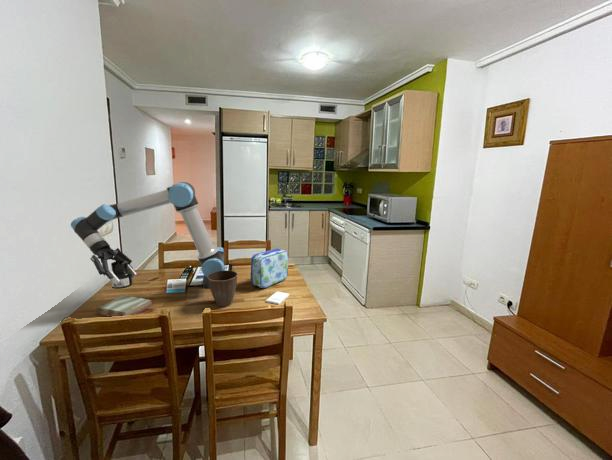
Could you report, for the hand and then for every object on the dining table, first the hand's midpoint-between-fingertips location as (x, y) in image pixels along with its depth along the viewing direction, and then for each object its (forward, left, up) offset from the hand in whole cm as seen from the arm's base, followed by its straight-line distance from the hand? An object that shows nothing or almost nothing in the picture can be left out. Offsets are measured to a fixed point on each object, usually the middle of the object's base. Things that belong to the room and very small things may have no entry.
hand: (126, 279), depth 139 cm
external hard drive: (-64, -36, -17) cm, 76 cm away
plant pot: (-40, -21, -17) cm, 48 cm away
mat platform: (+3, 0, -17) cm, 17 cm away
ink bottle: (+3, 0, -4) cm, 5 cm away
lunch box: (-51, -55, -17) cm, 77 cm away
